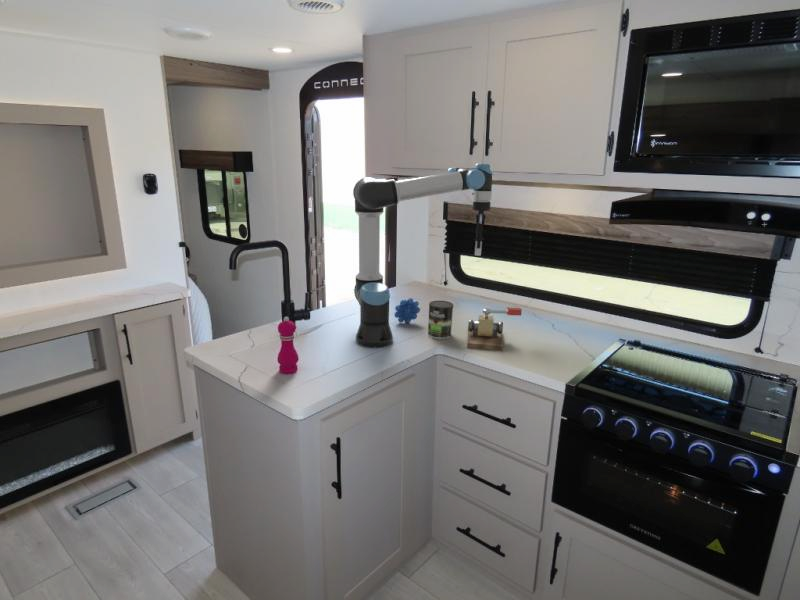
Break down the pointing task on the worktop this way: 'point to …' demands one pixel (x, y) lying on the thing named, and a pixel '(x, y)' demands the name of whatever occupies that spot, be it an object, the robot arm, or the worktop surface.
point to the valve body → (485, 326)
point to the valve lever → (504, 311)
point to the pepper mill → (287, 347)
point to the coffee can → (440, 319)
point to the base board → (484, 342)
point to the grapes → (407, 310)
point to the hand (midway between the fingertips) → (477, 255)
